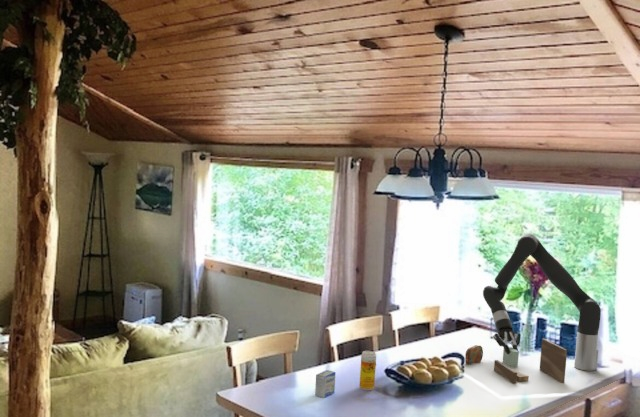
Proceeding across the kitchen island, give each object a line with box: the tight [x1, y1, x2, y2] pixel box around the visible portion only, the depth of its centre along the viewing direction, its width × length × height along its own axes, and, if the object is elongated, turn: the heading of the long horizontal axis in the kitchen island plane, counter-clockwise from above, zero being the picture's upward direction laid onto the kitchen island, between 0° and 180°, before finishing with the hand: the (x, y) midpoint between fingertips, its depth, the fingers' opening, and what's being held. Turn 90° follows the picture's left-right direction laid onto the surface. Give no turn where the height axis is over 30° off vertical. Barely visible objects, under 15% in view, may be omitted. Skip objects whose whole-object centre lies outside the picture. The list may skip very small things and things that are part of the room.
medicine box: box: [314, 369, 336, 399], centre depth 265 cm, size 8×4×9 cm, turn 148°
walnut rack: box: [493, 338, 568, 384], centre depth 300 cm, size 24×18×16 cm
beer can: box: [359, 350, 377, 392], centre depth 274 cm, size 6×6×15 cm
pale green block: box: [502, 345, 520, 367], centre depth 319 cm, size 3×9×8 cm, turn 12°
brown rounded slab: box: [464, 344, 484, 366], centre depth 319 cm, size 15×3×8 cm, turn 143°
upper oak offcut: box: [510, 367, 529, 382], centre depth 298 cm, size 5×12×2 cm, turn 24°
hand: (512, 353), depth 317 cm, fingers open, 3 cm apart
